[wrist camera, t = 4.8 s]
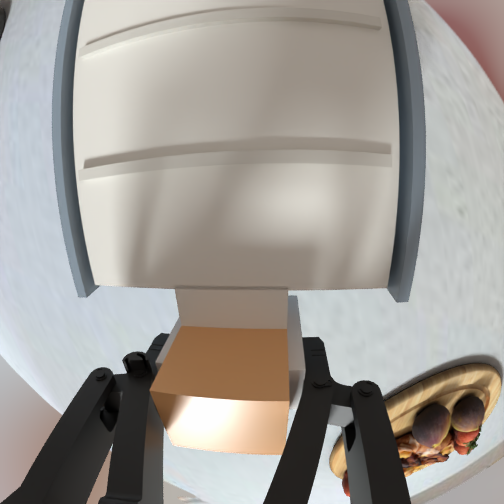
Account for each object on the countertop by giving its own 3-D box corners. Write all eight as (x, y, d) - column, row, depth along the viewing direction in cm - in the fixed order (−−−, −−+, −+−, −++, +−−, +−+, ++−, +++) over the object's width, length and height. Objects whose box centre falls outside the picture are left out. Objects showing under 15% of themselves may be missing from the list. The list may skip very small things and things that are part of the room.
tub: (154, 36, 18) (72, -23, 7) (340, 24, 17) (387, -59, 5) (161, 229, 24) (78, 296, 13) (346, 227, 23) (408, 301, 11)
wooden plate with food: (338, 487, 41) (341, 518, 33) (312, 410, 31) (319, 464, 23) (474, 434, 36) (486, 460, 28) (514, 326, 26) (544, 358, 18)
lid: (111, -6, 10) (43, -51, 3) (356, -30, 8) (392, -102, 2) (139, 348, 17) (93, 425, 11) (355, 354, 16) (382, 445, 10)
